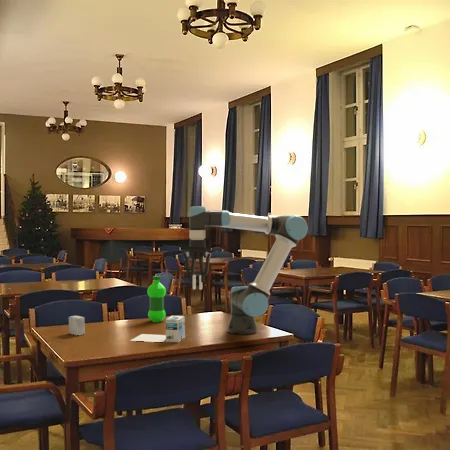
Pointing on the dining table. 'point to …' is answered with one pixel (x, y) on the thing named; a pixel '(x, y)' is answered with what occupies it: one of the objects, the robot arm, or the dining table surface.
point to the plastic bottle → (156, 300)
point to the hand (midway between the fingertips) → (197, 289)
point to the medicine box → (76, 325)
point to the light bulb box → (175, 328)
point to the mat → (150, 338)
